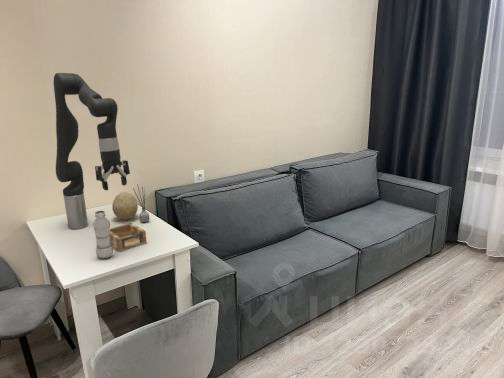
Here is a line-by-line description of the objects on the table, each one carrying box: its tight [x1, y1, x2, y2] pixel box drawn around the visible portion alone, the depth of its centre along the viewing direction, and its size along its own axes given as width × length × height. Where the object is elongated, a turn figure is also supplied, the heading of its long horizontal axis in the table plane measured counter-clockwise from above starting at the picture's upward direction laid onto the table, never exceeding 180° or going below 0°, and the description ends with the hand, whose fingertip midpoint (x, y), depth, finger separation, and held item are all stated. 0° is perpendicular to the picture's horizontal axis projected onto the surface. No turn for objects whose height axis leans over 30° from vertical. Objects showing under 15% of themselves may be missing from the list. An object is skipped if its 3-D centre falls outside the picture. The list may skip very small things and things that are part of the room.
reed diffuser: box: [132, 184, 150, 223], centre depth 193 cm, size 10×7×20 cm
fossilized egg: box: [111, 191, 139, 221], centre depth 198 cm, size 13×13×15 cm
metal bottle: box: [92, 210, 114, 259], centre depth 155 cm, size 6×7×20 cm
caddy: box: [110, 222, 148, 253], centre depth 170 cm, size 14×13×6 cm
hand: (115, 187), depth 156 cm, fingers open, 8 cm apart
